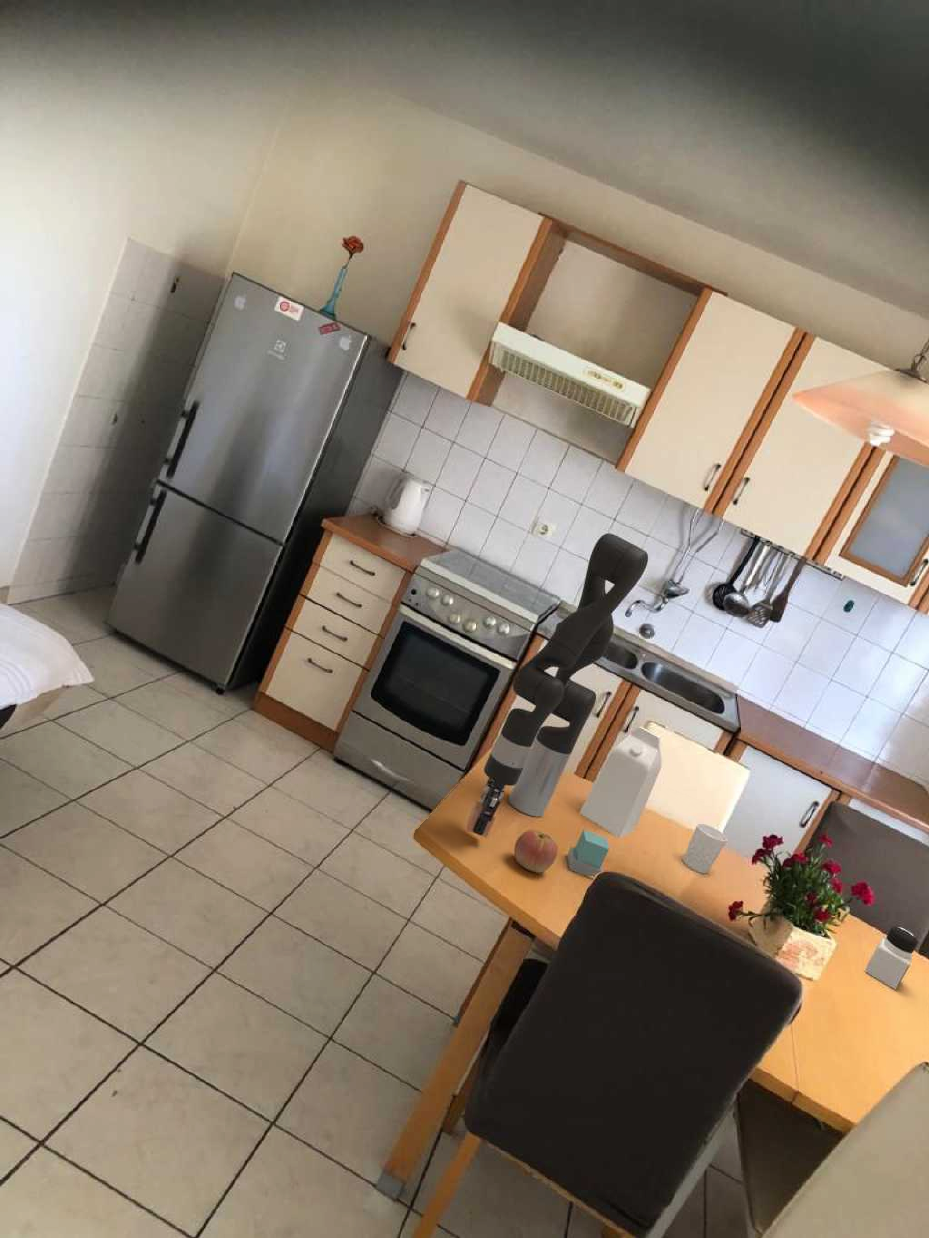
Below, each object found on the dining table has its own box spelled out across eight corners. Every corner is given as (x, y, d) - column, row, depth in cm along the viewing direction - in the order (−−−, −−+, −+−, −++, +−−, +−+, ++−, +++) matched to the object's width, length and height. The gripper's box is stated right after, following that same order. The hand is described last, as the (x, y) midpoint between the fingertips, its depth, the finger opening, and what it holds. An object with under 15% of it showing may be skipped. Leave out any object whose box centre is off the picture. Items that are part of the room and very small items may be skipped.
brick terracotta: (467, 821, 206) (476, 800, 204) (487, 828, 206) (495, 808, 205) (466, 830, 201) (475, 809, 200) (486, 837, 201) (495, 817, 200)
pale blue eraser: (566, 855, 216) (571, 845, 215) (595, 866, 216) (600, 857, 215) (569, 869, 209) (573, 859, 208) (598, 881, 209) (603, 871, 209)
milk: (635, 829, 248) (677, 741, 243) (619, 837, 238) (663, 746, 233) (596, 805, 254) (636, 718, 248) (579, 812, 244) (620, 722, 238)
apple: (545, 884, 198) (560, 851, 196) (506, 865, 199) (521, 832, 197) (549, 867, 206) (564, 835, 205) (511, 849, 207) (526, 817, 205)
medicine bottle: (895, 990, 216) (920, 946, 213) (864, 972, 219) (889, 928, 217) (898, 980, 222) (923, 937, 220) (868, 962, 225) (892, 919, 223)
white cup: (712, 869, 243) (729, 835, 241) (707, 878, 235) (724, 844, 233) (683, 853, 245) (700, 820, 243) (677, 862, 238) (695, 828, 236)
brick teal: (574, 848, 214) (583, 829, 213) (597, 857, 215) (606, 838, 214) (576, 859, 209) (585, 840, 208) (599, 868, 209) (609, 849, 208)
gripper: (525, 777, 193) (493, 849, 197) (524, 752, 207) (494, 820, 210) (490, 763, 192) (459, 836, 196) (492, 739, 206) (462, 807, 210)
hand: (477, 827), depth 203 cm, fingers closed on brick terracotta, 4 cm apart
